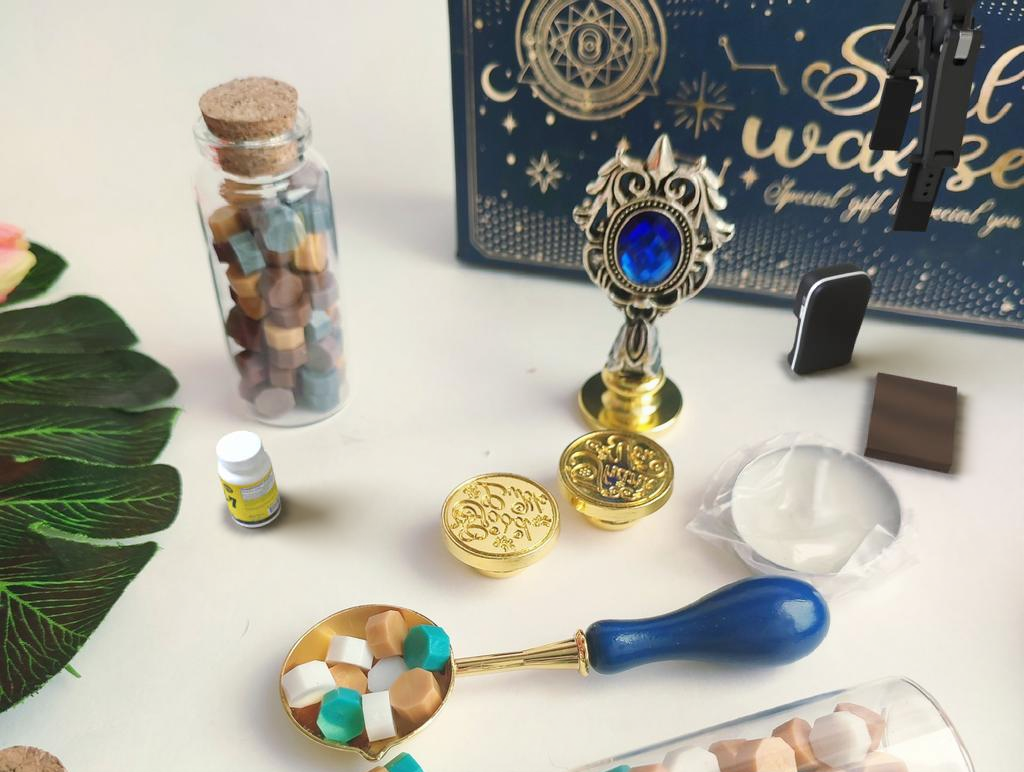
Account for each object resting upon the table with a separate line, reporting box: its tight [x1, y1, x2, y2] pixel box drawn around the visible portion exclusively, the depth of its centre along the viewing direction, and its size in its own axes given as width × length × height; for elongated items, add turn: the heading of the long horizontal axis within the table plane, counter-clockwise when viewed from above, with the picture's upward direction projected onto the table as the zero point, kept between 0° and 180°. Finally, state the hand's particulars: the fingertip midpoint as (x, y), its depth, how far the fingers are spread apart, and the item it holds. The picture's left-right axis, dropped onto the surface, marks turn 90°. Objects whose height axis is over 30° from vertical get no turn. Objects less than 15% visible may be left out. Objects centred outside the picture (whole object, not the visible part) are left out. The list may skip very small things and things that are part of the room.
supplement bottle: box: [216, 430, 282, 528], centre depth 98 cm, size 5×5×8 cm
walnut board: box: [863, 371, 958, 474], centre depth 108 cm, size 12×8×1 cm, turn 162°
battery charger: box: [786, 262, 873, 375], centre depth 111 cm, size 7×4×11 cm, turn 108°
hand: (895, 187), depth 96 cm, fingers open, 13 cm apart
